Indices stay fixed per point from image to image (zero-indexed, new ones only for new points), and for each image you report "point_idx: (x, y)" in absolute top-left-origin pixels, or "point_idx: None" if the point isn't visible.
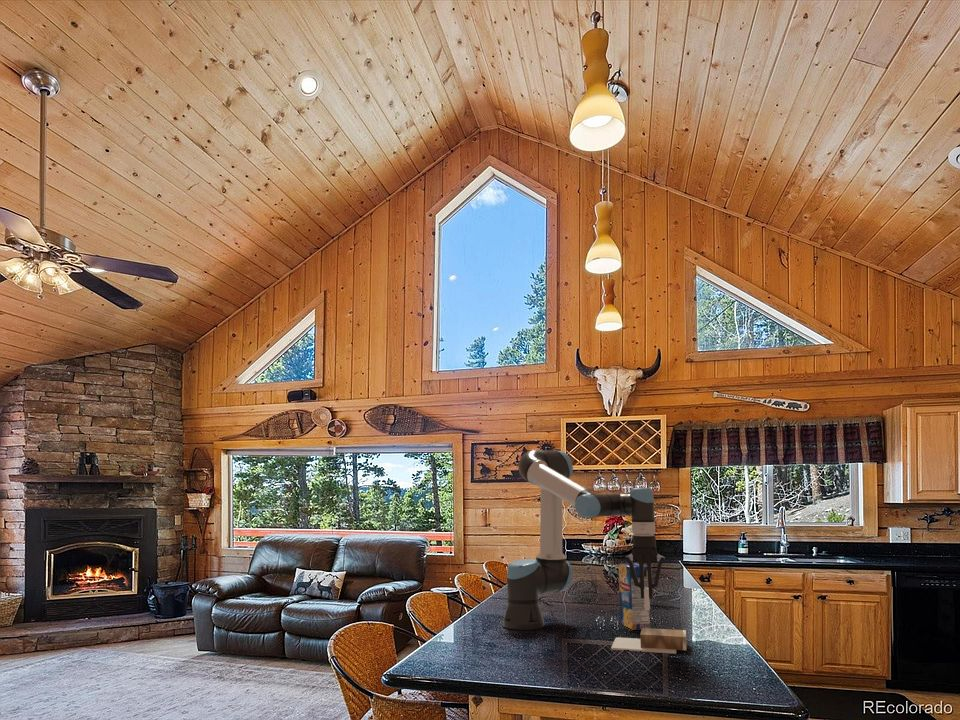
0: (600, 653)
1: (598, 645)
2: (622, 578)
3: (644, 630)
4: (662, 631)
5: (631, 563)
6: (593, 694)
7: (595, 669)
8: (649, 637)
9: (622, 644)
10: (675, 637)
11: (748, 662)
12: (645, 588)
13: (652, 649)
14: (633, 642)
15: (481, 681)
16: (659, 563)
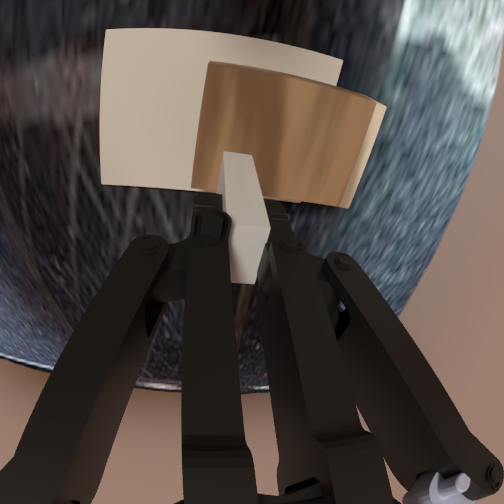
0: (85, 224)
1: (60, 136)
2: None
3: (213, 115)
4: (289, 127)
5: (86, 487)
6: (142, 388)
7: None
8: None
9: (131, 135)
10: (316, 201)
11: (421, 252)
12: (232, 263)
13: None
14: (170, 97)
15: (15, 358)
16: (405, 471)
